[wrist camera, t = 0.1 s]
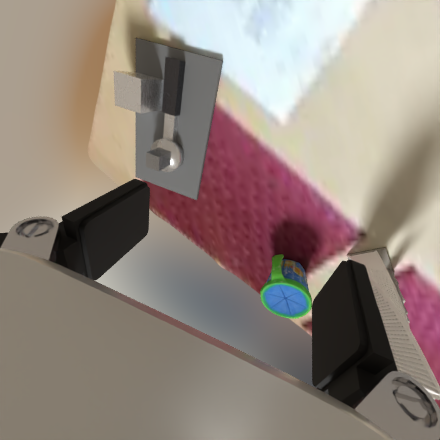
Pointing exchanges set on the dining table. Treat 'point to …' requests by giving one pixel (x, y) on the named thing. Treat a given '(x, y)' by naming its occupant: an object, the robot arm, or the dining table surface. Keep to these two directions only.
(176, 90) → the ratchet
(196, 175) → the tool mat
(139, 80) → the light grey block
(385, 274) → the skyscraper
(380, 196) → the dining table surface
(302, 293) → the snack cup
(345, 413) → the robot arm
